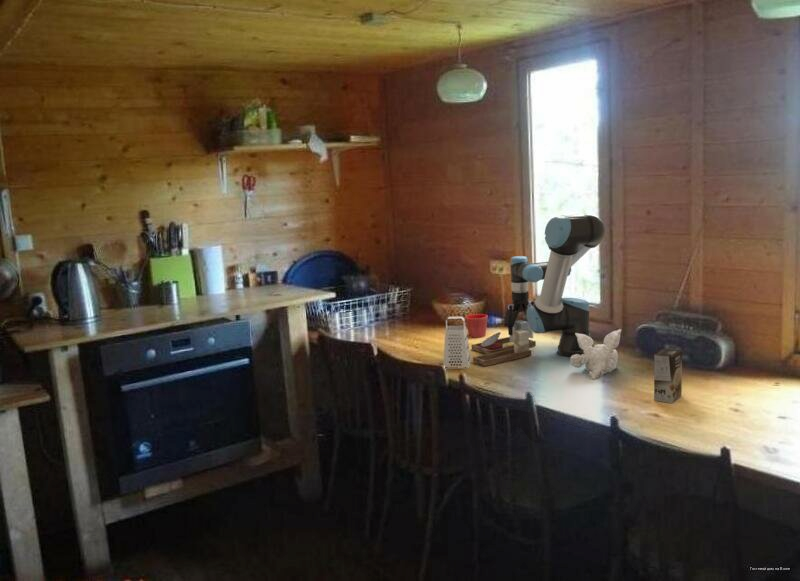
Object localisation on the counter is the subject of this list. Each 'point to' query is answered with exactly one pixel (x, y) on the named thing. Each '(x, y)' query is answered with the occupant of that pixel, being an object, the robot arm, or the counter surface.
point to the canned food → (492, 342)
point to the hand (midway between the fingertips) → (521, 339)
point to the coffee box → (667, 375)
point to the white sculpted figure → (597, 354)
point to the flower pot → (476, 325)
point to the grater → (456, 345)
